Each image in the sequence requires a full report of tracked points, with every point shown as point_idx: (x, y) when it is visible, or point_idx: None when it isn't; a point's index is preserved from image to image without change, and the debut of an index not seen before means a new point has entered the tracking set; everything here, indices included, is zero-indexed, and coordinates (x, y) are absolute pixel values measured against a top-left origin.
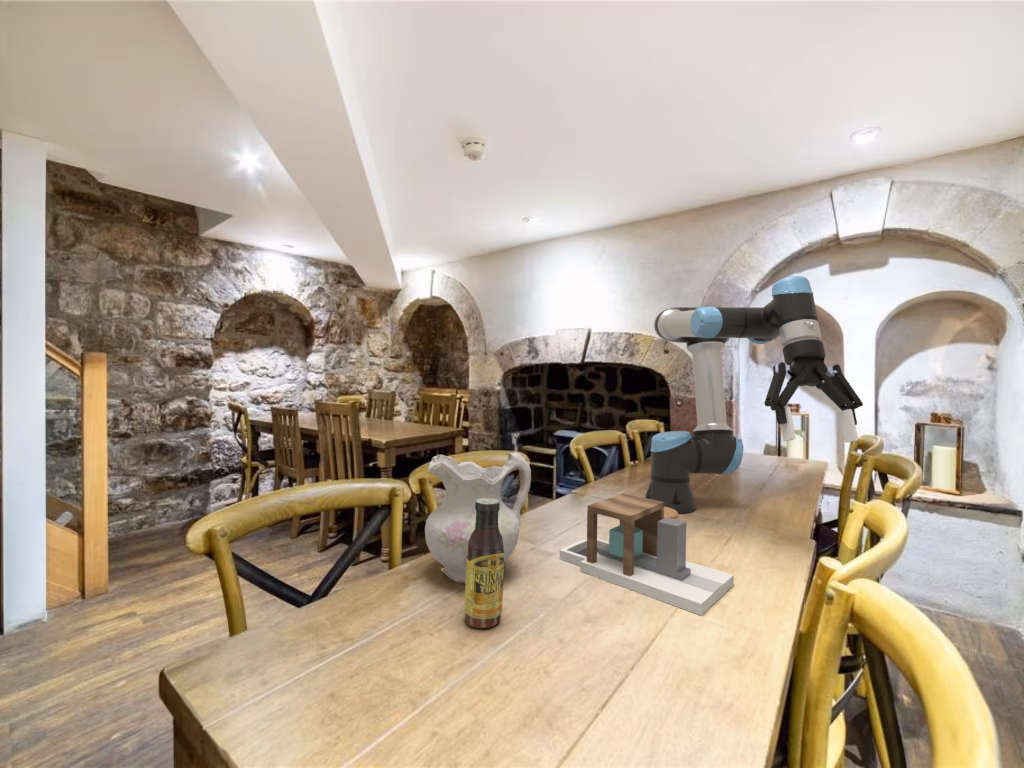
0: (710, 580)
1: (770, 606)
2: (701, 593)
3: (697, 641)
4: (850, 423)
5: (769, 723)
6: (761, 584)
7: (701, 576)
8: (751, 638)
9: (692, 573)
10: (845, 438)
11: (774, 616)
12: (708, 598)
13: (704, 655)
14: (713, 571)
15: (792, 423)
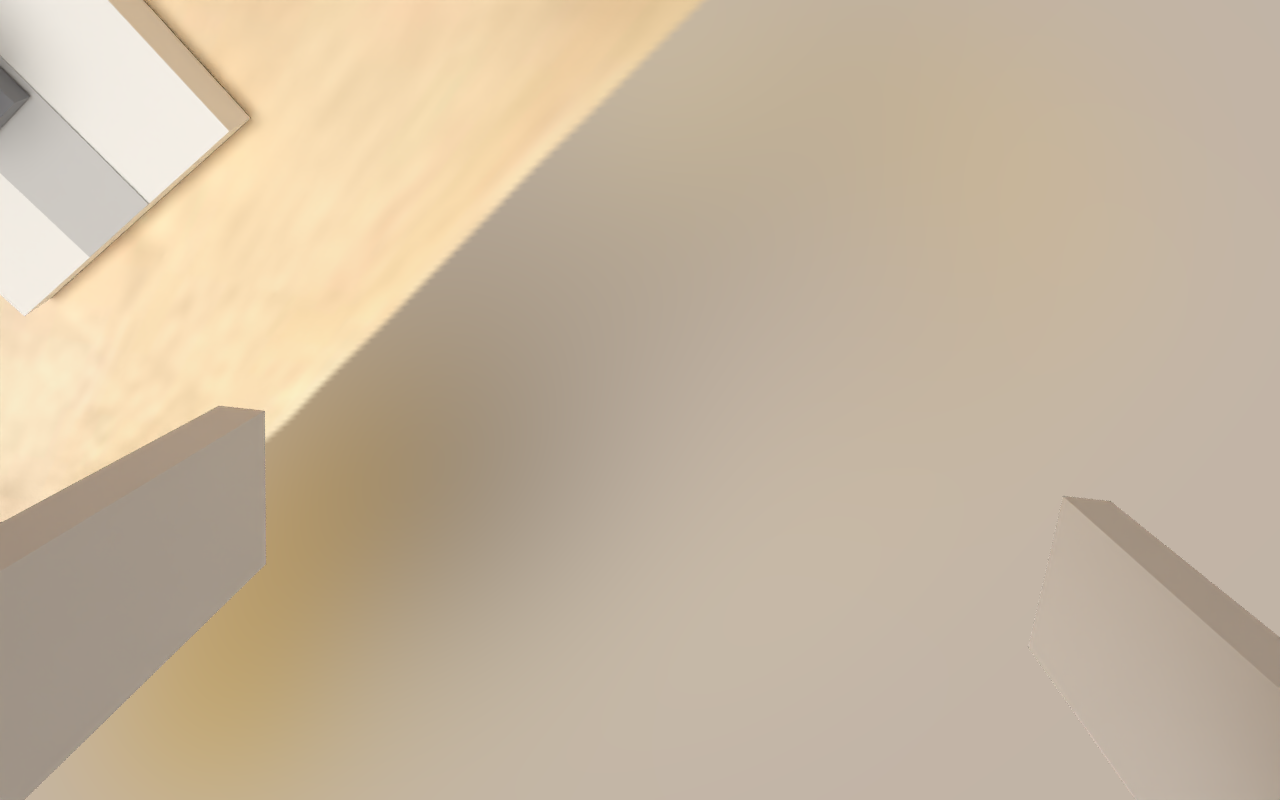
0: (104, 168)
1: (313, 290)
2: (42, 253)
3: (10, 404)
4: (1133, 769)
5: None
6: (377, 131)
7: (78, 118)
8: (163, 421)
9: (45, 82)
10: (1077, 539)
11: (291, 344)
12: (63, 281)
13: (15, 453)
14: (148, 79)
15: (158, 659)
